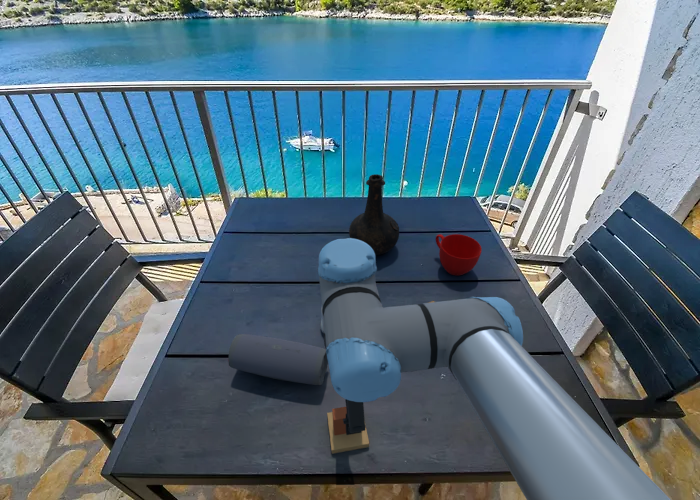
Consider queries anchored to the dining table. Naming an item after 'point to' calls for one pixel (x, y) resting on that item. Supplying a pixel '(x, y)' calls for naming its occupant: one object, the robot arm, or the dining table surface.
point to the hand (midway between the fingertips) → (347, 395)
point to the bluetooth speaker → (278, 358)
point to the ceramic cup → (458, 253)
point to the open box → (344, 433)
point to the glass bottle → (375, 221)
